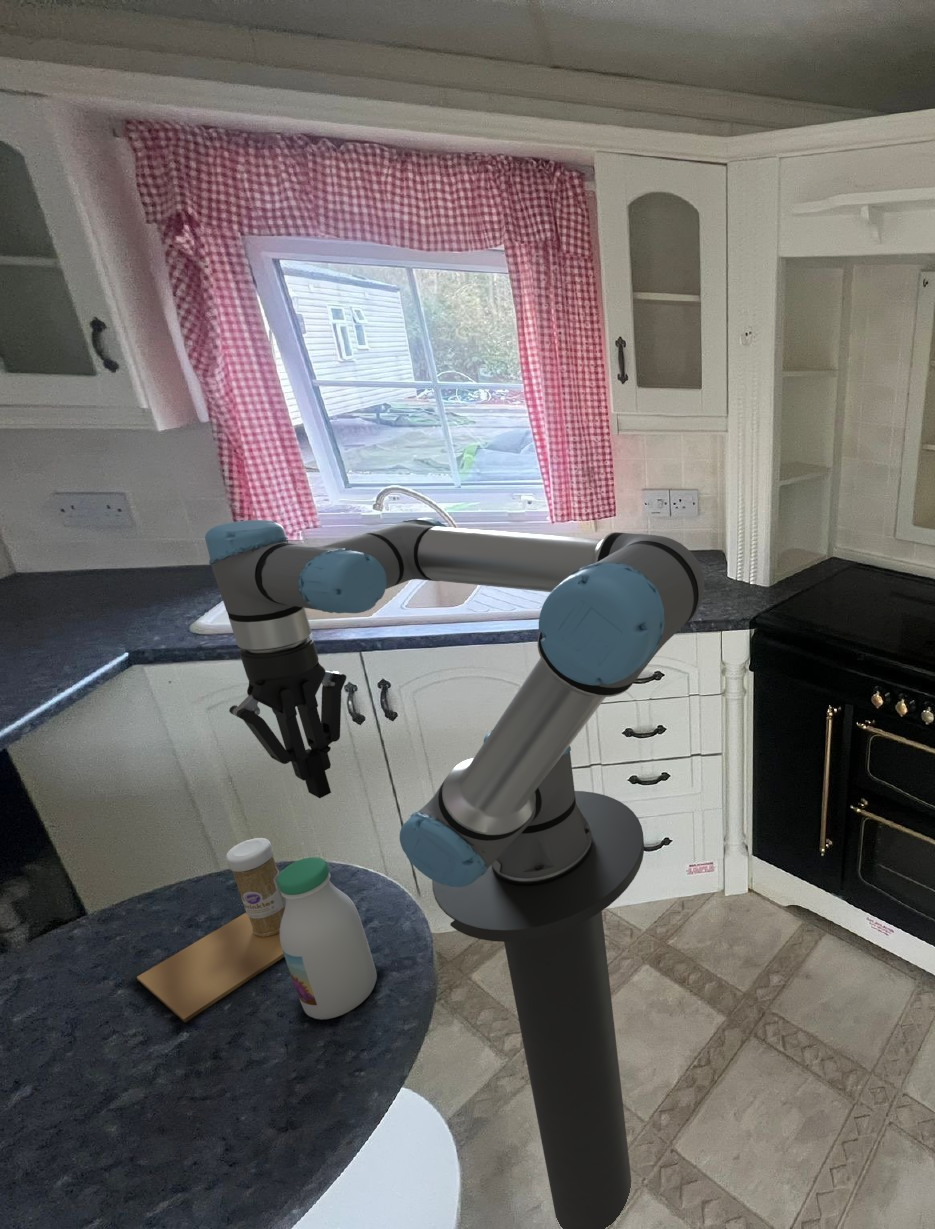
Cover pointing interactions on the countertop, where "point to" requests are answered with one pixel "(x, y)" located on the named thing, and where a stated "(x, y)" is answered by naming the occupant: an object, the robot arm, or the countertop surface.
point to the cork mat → (211, 967)
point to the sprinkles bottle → (258, 884)
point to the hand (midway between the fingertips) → (319, 792)
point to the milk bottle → (323, 941)
